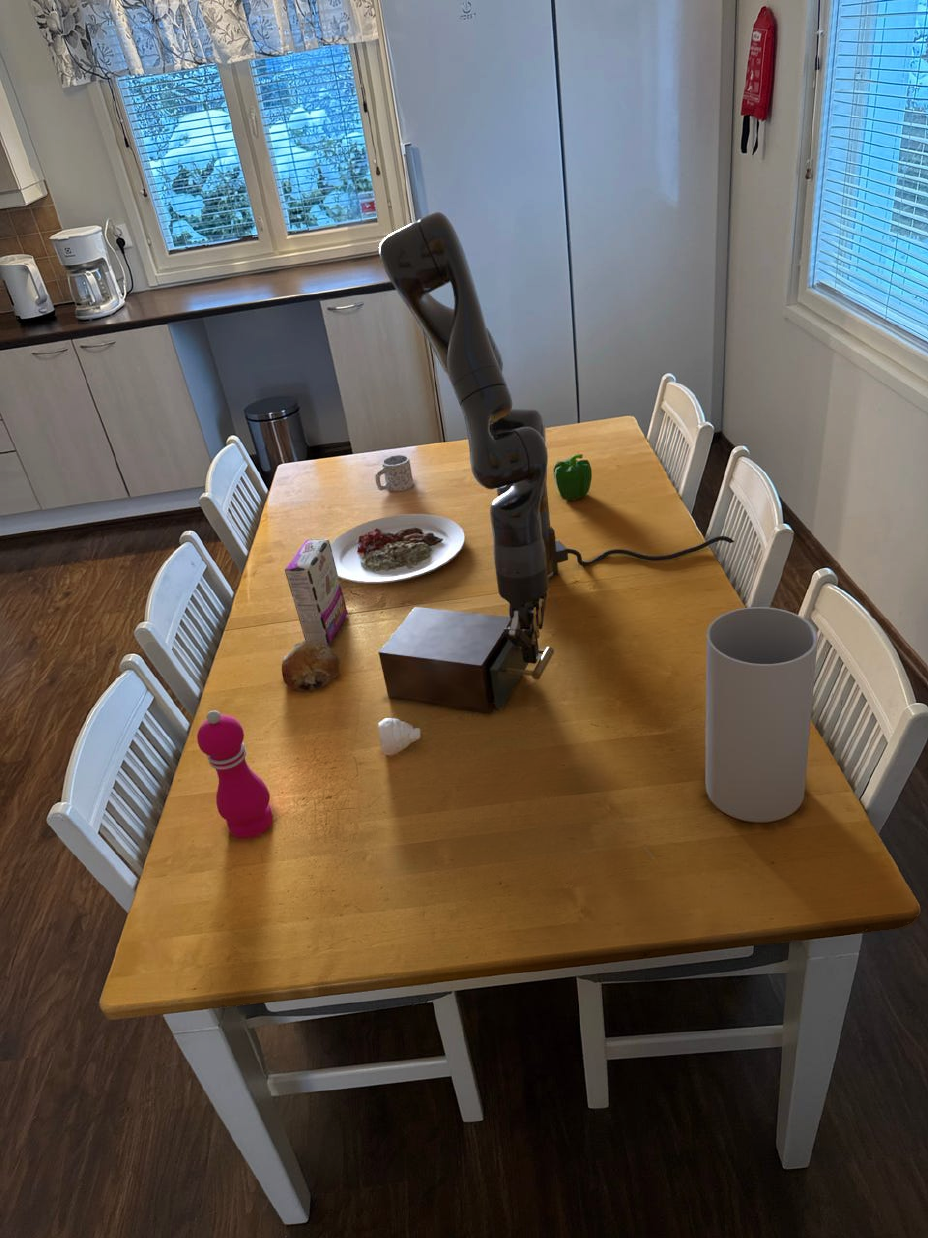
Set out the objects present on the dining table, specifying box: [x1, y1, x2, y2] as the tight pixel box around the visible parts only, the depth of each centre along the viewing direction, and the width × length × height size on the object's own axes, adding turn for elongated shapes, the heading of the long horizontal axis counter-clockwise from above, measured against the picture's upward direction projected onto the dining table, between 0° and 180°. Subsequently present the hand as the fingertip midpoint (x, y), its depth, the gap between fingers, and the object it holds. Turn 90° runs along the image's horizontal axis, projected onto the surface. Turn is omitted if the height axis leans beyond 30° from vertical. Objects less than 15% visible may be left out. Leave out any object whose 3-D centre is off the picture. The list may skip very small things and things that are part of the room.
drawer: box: [484, 635, 555, 709], centre depth 146 cm, size 22×13×7 cm, turn 67°
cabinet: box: [378, 606, 512, 715], centre depth 149 cm, size 18×14×9 cm
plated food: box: [330, 513, 466, 584], centre depth 192 cm, size 30×30×3 cm
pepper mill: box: [196, 709, 274, 840], centre depth 123 cm, size 7×7×20 cm
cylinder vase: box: [704, 606, 819, 824], centre depth 114 cm, size 12×12×25 cm
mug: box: [374, 454, 414, 492], centre depth 221 cm, size 10×7×7 cm, turn 133°
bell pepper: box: [553, 453, 593, 501], centre depth 202 cm, size 8×8×10 cm
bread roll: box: [281, 641, 340, 692], centre depth 157 cm, size 10×10×8 cm
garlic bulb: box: [378, 717, 422, 756], centre depth 137 cm, size 6×6×5 cm
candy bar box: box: [284, 538, 349, 646], centre depth 166 cm, size 11×5×16 cm, turn 168°
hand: (531, 660), depth 142 cm, fingers closed
